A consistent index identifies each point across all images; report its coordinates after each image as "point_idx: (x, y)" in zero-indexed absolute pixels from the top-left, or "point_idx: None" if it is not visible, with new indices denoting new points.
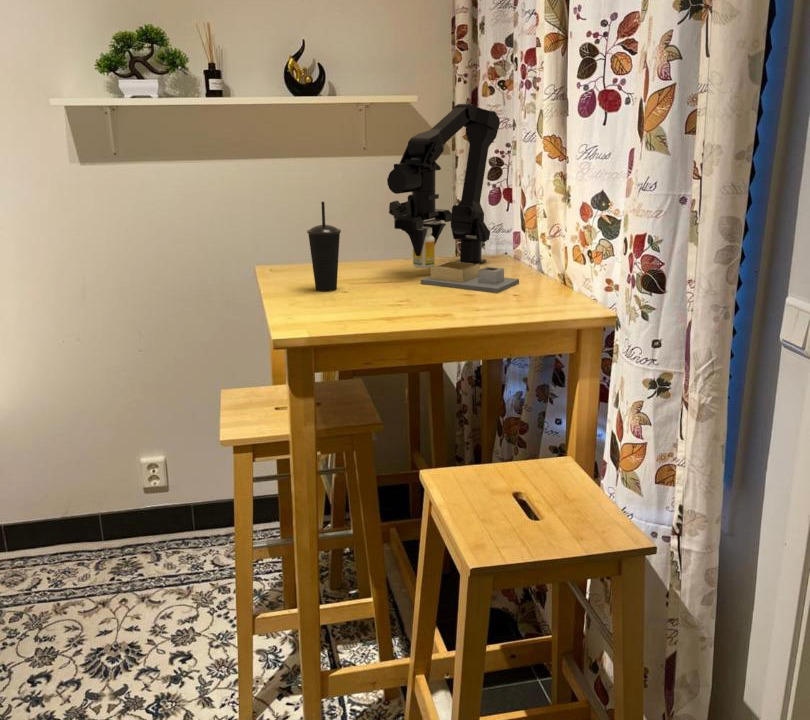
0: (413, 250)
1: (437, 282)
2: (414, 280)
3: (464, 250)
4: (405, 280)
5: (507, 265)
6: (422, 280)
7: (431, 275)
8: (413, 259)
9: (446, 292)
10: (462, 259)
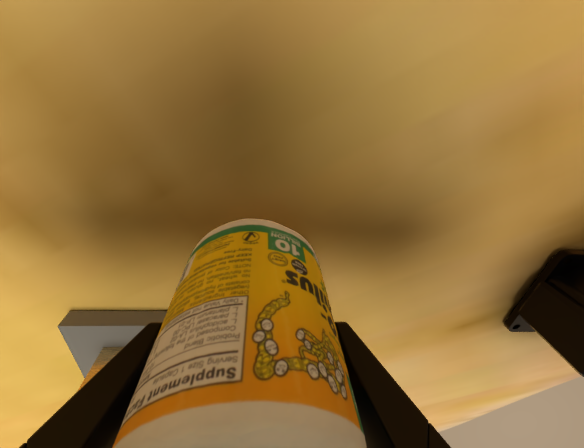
0: (176, 315)
1: (86, 372)
2: (108, 262)
3: (580, 344)
4: (72, 228)
5: (507, 378)
6: (62, 329)
7: (95, 363)
8: (194, 260)
9: (38, 405)
10: (543, 299)
